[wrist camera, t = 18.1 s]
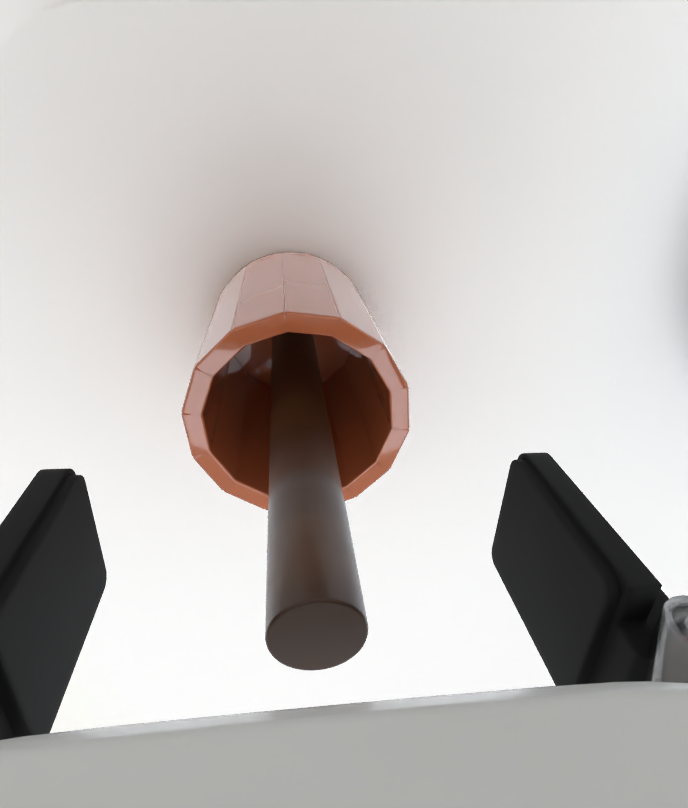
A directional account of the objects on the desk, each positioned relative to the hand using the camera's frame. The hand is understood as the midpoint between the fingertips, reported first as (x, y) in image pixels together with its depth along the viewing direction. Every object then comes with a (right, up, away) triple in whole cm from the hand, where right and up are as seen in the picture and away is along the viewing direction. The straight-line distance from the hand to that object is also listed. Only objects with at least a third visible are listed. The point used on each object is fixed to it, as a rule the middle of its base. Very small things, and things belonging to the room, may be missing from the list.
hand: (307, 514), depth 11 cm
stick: (-2, +6, +12) cm, 13 cm away
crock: (-2, +6, +12) cm, 14 cm away
